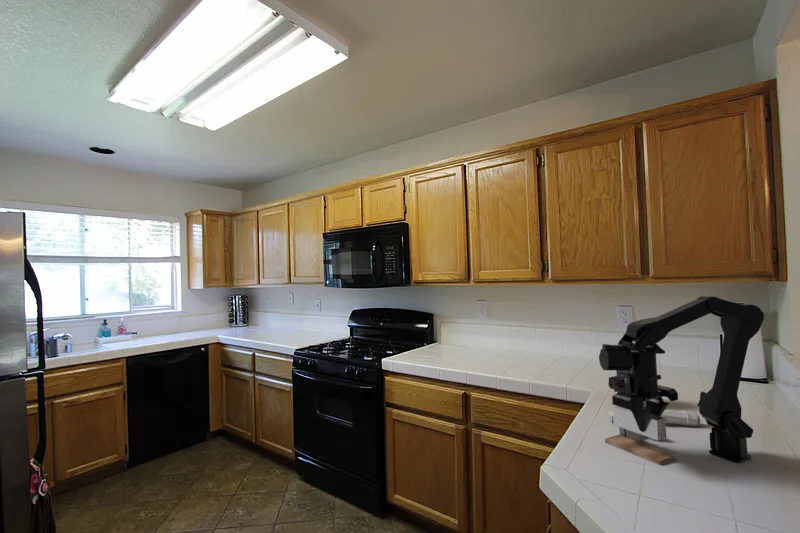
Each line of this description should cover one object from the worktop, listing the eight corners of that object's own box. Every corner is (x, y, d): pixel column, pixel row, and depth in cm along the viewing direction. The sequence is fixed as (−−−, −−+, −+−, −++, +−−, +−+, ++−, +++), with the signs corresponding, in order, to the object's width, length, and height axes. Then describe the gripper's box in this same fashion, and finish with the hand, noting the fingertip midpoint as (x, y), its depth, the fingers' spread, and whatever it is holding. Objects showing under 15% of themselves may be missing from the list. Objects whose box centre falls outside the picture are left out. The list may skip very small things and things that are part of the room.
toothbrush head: (702, 416, 116) (615, 403, 120) (700, 438, 116) (612, 424, 120) (691, 410, 121) (608, 397, 125) (689, 431, 121) (606, 418, 125)
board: (674, 459, 97) (674, 455, 97) (660, 465, 95) (660, 460, 95) (619, 438, 111) (619, 434, 111) (605, 442, 108) (605, 438, 108)
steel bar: (666, 437, 98) (665, 418, 98) (657, 440, 96) (657, 420, 96) (621, 422, 109) (621, 404, 109) (613, 424, 107) (612, 406, 107)
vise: (659, 439, 109) (659, 427, 109) (640, 445, 105) (639, 433, 105) (639, 432, 114) (638, 420, 114) (619, 438, 111) (619, 425, 111)
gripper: (636, 360, 112) (639, 414, 112) (592, 368, 104) (595, 426, 104) (677, 368, 102) (680, 427, 102) (632, 377, 94) (635, 441, 94)
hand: (646, 429), depth 101 cm, fingers closed on steel bar, 3 cm apart
